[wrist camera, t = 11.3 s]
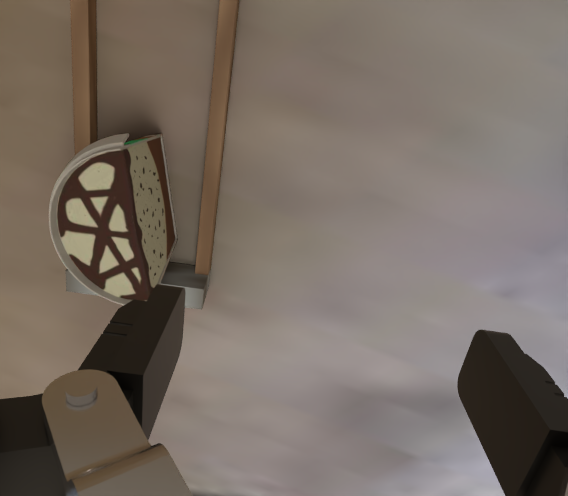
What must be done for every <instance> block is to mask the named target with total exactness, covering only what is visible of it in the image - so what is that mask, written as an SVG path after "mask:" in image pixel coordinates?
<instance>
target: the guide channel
mask: <svg viewBox="0 0 568 496" xmlns="http://www.w3.org/2000/svg"><path fill="white" fill-rule="evenodd" d="M70 6H71V40H72V73H73V107H74V141H75V155H76V154H77V153H79V152H80V151H81V150H83V149H84V148H85V147H87V146H88V145H90V144H92V143H94V142H96V141H97V57H96V0H70ZM238 9H239V0H220V4H219V15H218V26H217V37H216V47H215V58H214V69H213V80H212V91H211V102H210V113H209V124H208V135H207V146H206V157H205V168H204V179H203V190H202V201H201V212H200V223H199V234H198V245H197V256H196V266H195V265H188V264H181V263H174V262H168V265H167V268H166V270H165V273H164V275H163V278H162V280H161V283H160V284H161V285H169V286H176V287H183V288H185V307H187V308H195V309H202V308H203V304H204V301H205V297H206V294H207V291H208V287H209V279H210V270H211V261H212V251H213V242H214V233H215V223H216V214H217V205H218V195H219V186H220V177H221V167H222V158H223V149H224V139H225V130H226V121H227V111H228V102H229V93H230V83H231V74H232V65H233V55H234V46H235V37H236V27H237V18H238ZM66 291H68V292H76V293H83V294H91V295H97V294H95V293H94V292H92V291H90V290H89V289H88V288H86V287H85V286H84V285H83V284H81V283H80V282H79V281H78V280H77V279H76V278H75V277H74V276H73V275H72V274H71V273H70V272H69V270H68V269H66ZM98 296H99V295H98Z"/></svg>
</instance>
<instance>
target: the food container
mask: <svg viewBox="0 0 568 496" xmlns="http://www.w3.org/2000/svg"><path fill="white" fill-rule="evenodd" d="M128 137H129V133H127V134H119V135H113V136H110V137H106V138H103V139H100V140H98V141H96V142H94V143H92V144H90V145H88V146H87V147H85V148H84V149H83V150H81V151H80V152H79V153H77V154H76V155H75V156H74V158H73V159H72V160H71V161H70V162H69V163H68V164H67V166H66V167H65V169H64V170H63V172H62V174H61V175H60V177H59V179H58V180H57V182H56V184H55V186H54V189H53V192H52V194H51V199H50V205H49V228H50V233H51V238H52V241H53V244H54V247H55V249H56V251H57V253H58V255H59V257H60V259H61V261H62V262H63V264H64V265H65V266H66V268H67V269H68V270H69V272H70V273H71V274H72V275H73V276H74V277H75V278H76V279H77V280H78V281H79V282H80V283H81V284H83V285H84V286H85V287H86V288H88V289H89V290H90V291H92V292H94V293H95V294H97V295H99V296H100V297H102V298H105V299H107V300H109V301H112V302H114V303H117V304H121V305H125V304H127V303H129V302H130V301H132V300H133V299H134V300H141V301H147V299H148V298H149V296H150V294H151V293H152V291H153V289H154V287H155V286H156V285H157V284H160V283H161V280H162V278H163V275H164V273H165V270H166V268H167V265H168V262H169V260H170V257H171V255H172V252H173V250H174V247H175V245H176V242H177V240H178V238H177V231H176V224H175V217H174V210H173V204H172V197H171V190H170V183H169V176H168V169H167V162H166V155H165V149H164V142H163V135H162V134H154V135H147V136H144V137H141V138H138V139H135V140H132V141H129V142H126V140H127V139H128Z"/></svg>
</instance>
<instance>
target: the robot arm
mask: <svg viewBox="0 0 568 496" xmlns="http://www.w3.org/2000/svg"><path fill="white" fill-rule="evenodd" d="M184 309H185V288H183V287H176V286H169V285H161V284H157V285H156V286H155V287H154V289H153V291H152V293H151V294H150V296H149V298H148V299H147V301H141V300H134V299H133V300H132V301H130V302H129V303H127V304H125V305H124V306H122V307H121V308H119V309H118V310H117V312H116V313H115V315H114V316H113V318H112V319H111V321H110V324H108V325H107V327H106V328H105V330H104V332H103V334H101V336H100V338H99V339H98V341H97V342H96V344H95V345H94V347H93V348H92V350H91V351H90V353H89V354H88V356H87V357H86V359H85V360H84V362H83V363H82V365H81V366H80V368H79V369H78V371H73V372H70V373H67V374H65V375H63V376H60V377H59V378H57V379H55V380H54V381H53V382H52V383H50V384H49V386H48V387H47V388H46V389H45V391H44V393H43V394H39V395H34V396H26V397H17V398H8V399H0V496H193V495H192V494H191V492H190V490H189V488H188V486H187V485H186V483H185V481H184V479H183V477H182V476H181V474H180V472H179V470H178V468H177V467H176V465H175V463H174V461H173V459H172V458H171V456H170V454H169V452H168V451H167V449H166V448H165V447H164V446H163V445H162V444H161V443H158V444H156V445H153V446H151V445H150V443H149V442H148V439H149V437H150V434H151V431H152V428H153V426H154V423H155V420H156V418H157V415H158V412H159V409H160V407H161V404H162V401H163V399H164V396H165V393H166V391H167V388H168V385H169V382H170V380H171V377H172V374H173V372H174V369H175V366H176V363H177V361H178V358H179V354H180V350H181V345H182V338H183V324H184ZM458 393H459V397H460V399H461V401H462V404H463V406H464V408H465V410H466V412H467V414H468V416H469V419H470V421H471V423H472V425H473V427H474V429H475V431H476V434H477V436H478V438H479V440H480V442H481V444H482V446H483V449H484V451H485V453H486V455H487V457H488V459H489V461H490V464H491V466H492V468H493V470H494V472H495V474H496V476H497V479H498V481H499V483H500V485H501V487H502V489H503V491H504V494H505V496H568V399H567V397H564V393H563V392H562V391H561V389H560V388H559V387H558V386H557V385H555V382H554V380H553V379H552V378H551V376H550V375H549V374H548V373H547V371H546V370H545V369H544V368H543V367H542V366H541V365H540V364H538V363H537V362H536V361H535V360H533V359H532V358H531V357H530V356H528V355H527V354H524V352H523V351H522V350H521V348H520V347H519V346H518V344H517V343H516V342H515V340H514V339H513V338H512V336H511V335H510V334H508V333H501V332H494V331H487V330H478V331H477V332H476V333H475V335H474V337H473V340H472V342H471V345H470V347H469V350H468V352H467V355H466V358H465V360H464V363H463V365H462V368H461V371H460V373H459V377H458Z"/></svg>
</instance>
